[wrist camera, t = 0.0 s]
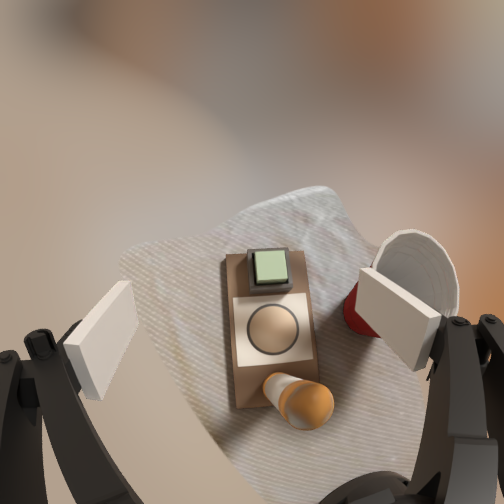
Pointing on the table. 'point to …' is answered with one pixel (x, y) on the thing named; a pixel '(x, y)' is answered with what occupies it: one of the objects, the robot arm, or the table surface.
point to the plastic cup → (411, 275)
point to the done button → (270, 267)
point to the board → (269, 326)
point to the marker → (299, 400)
